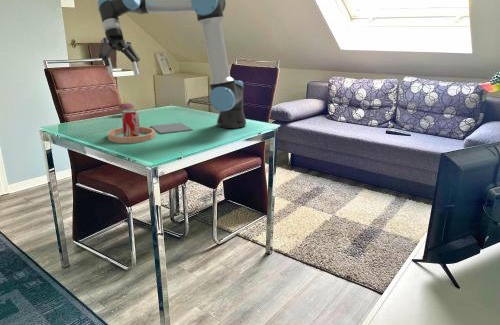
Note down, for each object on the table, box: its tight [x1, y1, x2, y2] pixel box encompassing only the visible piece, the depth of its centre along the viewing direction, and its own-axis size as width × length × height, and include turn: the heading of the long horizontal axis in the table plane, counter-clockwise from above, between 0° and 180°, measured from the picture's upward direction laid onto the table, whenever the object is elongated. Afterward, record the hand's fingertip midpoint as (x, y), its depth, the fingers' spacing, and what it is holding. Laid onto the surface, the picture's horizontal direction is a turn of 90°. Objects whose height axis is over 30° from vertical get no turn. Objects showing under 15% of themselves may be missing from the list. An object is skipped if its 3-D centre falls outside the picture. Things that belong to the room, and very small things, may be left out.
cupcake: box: [118, 94, 135, 115], centre depth 213 cm, size 9×8×12 cm
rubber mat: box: [149, 122, 193, 135], centre depth 187 cm, size 16×16×1 cm
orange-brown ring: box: [107, 126, 156, 144], centre depth 170 cm, size 20×20×2 cm
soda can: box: [121, 109, 141, 137], centre depth 169 cm, size 7×7×12 cm
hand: (124, 74), depth 174 cm, fingers open, 13 cm apart
